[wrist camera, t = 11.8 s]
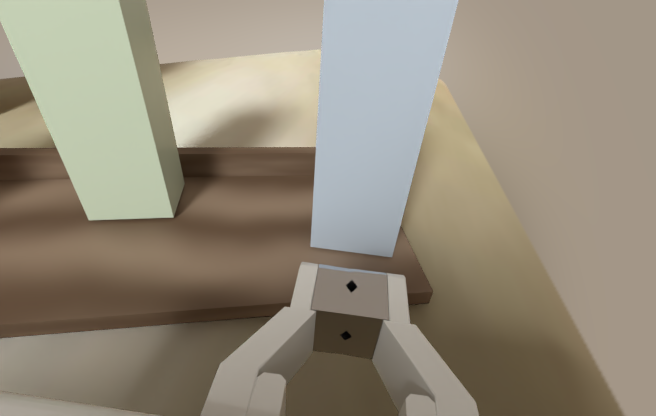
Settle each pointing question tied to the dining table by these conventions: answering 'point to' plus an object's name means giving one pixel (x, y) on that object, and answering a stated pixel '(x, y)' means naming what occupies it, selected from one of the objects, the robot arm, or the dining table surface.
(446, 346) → the dining table surface
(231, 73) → the dining table surface
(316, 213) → the tile two
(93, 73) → the tile one
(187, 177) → the tile rack
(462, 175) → the dining table surface
